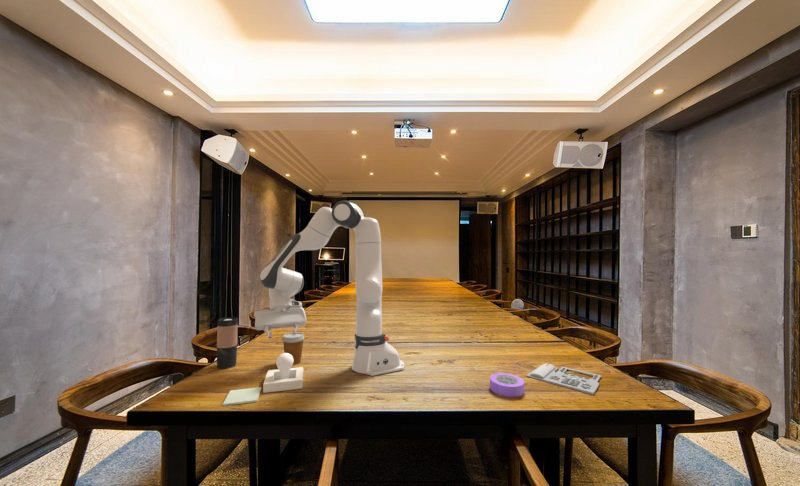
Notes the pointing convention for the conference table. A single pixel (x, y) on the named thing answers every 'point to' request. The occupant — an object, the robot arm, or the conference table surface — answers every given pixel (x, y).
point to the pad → (242, 396)
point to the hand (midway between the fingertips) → (282, 336)
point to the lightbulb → (284, 364)
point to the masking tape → (507, 384)
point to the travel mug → (227, 342)
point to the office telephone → (566, 378)
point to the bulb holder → (283, 380)
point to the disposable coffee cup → (294, 345)
